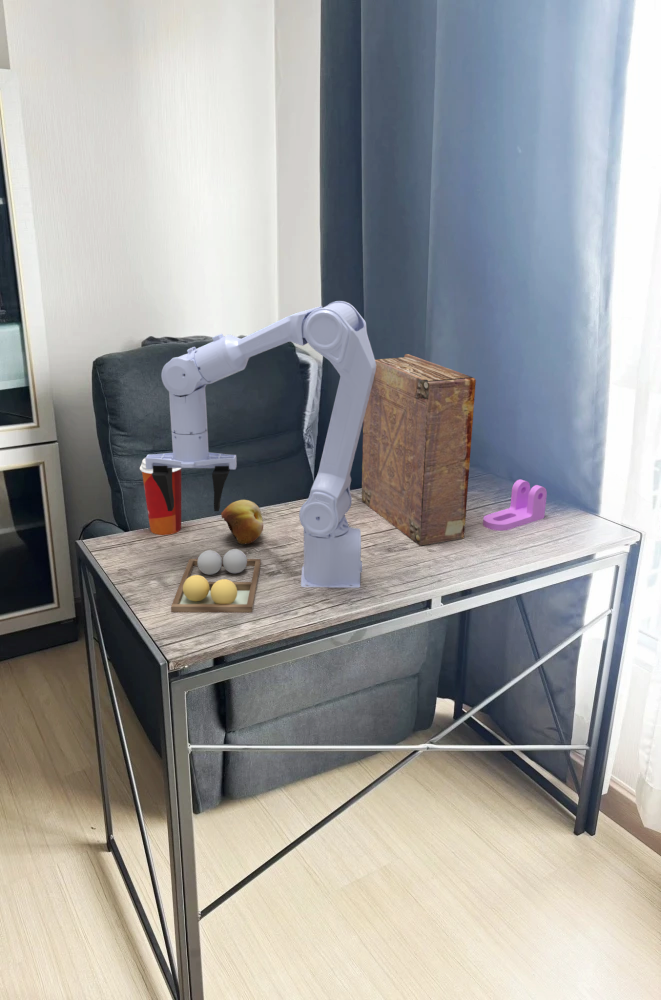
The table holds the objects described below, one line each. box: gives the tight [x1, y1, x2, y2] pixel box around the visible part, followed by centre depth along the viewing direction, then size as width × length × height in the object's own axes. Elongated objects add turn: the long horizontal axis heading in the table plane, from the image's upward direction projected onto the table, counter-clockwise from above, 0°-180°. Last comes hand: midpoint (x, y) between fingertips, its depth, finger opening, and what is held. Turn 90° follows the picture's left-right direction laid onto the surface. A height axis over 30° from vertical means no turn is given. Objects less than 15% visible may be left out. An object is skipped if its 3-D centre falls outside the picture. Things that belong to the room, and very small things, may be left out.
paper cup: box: [139, 458, 182, 536], centre depth 148 cm, size 8×8×14 cm
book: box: [361, 353, 477, 547], centre depth 152 cm, size 25×9×30 cm, turn 23°
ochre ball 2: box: [211, 578, 237, 604], centre depth 121 cm, size 4×4×4 cm
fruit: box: [220, 499, 264, 545], centre depth 144 cm, size 8×8×8 cm
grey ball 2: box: [222, 548, 248, 574], centre depth 132 cm, size 4×4×4 cm
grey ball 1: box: [197, 549, 223, 576], centre depth 132 cm, size 4×4×4 cm
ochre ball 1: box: [183, 574, 209, 601], centre depth 123 cm, size 4×4×4 cm
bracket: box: [482, 479, 548, 532], centre depth 155 cm, size 13×6×7 cm, turn 126°
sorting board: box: [170, 558, 262, 614], centre depth 127 cm, size 12×17×2 cm
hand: (194, 509), depth 134 cm, fingers open, 7 cm apart
